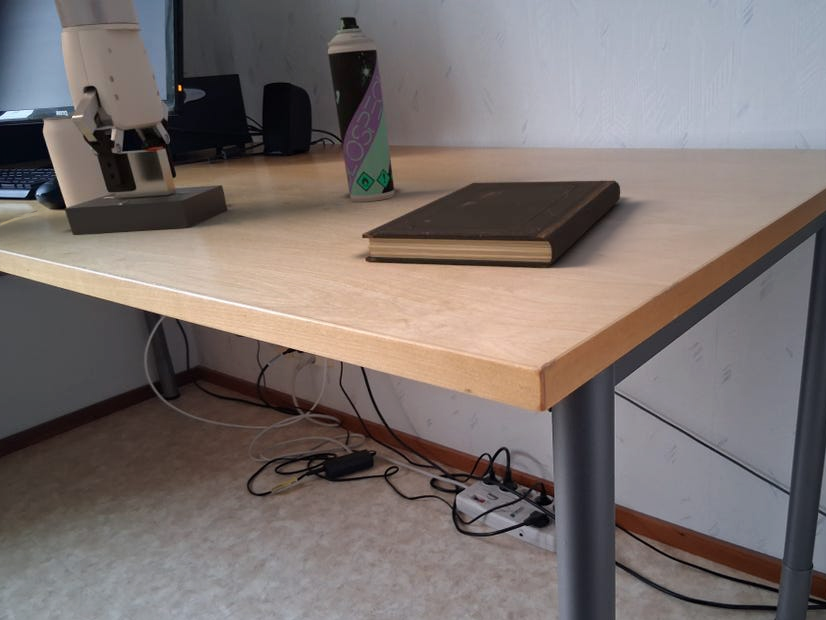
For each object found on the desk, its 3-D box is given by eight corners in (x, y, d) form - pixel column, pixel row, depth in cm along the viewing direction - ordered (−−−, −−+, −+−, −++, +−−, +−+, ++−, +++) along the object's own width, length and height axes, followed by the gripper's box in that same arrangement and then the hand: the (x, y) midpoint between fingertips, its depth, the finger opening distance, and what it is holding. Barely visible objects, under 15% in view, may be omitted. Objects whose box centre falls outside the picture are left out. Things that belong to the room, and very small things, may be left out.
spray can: (343, 202, 84) (314, 18, 76) (360, 194, 89) (335, 20, 81) (385, 200, 82) (360, 13, 75) (401, 192, 87) (379, 15, 79)
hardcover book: (365, 261, 57) (361, 233, 56) (474, 204, 76) (472, 182, 75) (554, 268, 51) (553, 237, 50) (620, 203, 70) (620, 180, 69)
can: (112, 200, 101) (87, 114, 97) (123, 204, 97) (98, 113, 92) (63, 208, 98) (34, 119, 93) (72, 213, 93) (43, 119, 88)
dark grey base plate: (70, 235, 78) (61, 207, 77) (124, 215, 88) (117, 190, 87) (187, 228, 76) (180, 199, 75) (228, 209, 86) (223, 183, 85)
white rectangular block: (116, 198, 81) (103, 152, 79) (125, 196, 82) (112, 150, 80) (168, 195, 80) (156, 148, 78) (176, 192, 81) (165, 146, 79)
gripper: (114, 24, 82) (153, 175, 89) (8, 17, 66) (66, 201, 73) (173, 18, 81) (208, 171, 88) (80, 9, 65) (132, 196, 72)
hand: (143, 184), depth 80 cm, fingers open, 8 cm apart
